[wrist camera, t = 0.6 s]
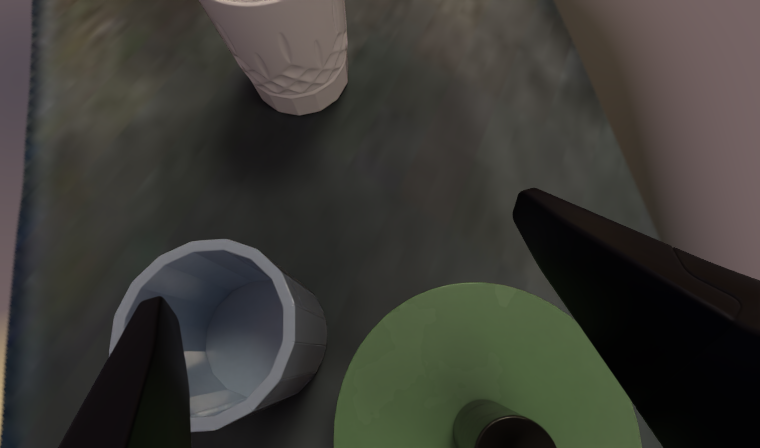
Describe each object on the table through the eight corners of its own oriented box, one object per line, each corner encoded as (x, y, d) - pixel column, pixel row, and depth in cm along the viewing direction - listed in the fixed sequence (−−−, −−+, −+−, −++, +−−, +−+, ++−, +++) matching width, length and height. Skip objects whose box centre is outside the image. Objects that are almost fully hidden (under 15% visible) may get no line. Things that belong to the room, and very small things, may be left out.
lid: (646, 336, 17) (753, 329, 12) (599, 664, 14) (716, 843, 9) (389, 252, 18) (387, 214, 13) (293, 530, 15) (243, 617, 10)
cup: (348, 367, 23) (324, 374, 15) (226, 430, 22) (137, 470, 15) (298, 254, 25) (256, 211, 17) (185, 307, 24) (90, 286, 17)
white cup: (225, 85, 29) (143, -46, 20) (299, 15, 31) (255, -136, 21) (306, 144, 27) (259, 33, 18) (379, 67, 29) (371, -72, 20)
